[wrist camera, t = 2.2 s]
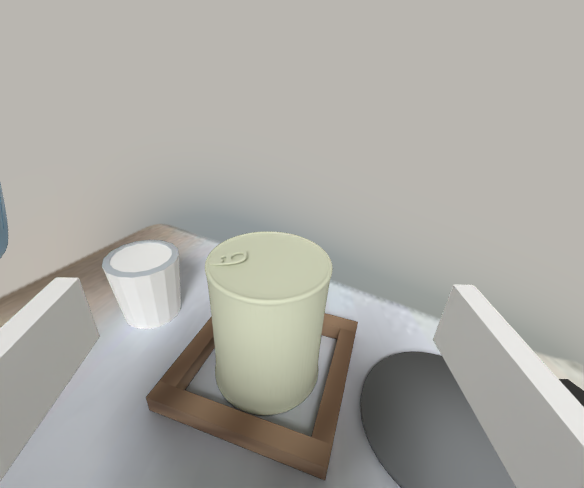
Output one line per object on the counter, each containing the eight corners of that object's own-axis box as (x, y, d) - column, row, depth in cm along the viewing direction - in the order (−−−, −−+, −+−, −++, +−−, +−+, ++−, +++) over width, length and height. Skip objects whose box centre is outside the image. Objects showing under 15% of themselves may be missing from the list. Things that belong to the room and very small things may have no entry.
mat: (348, 481, 21) (349, 476, 20) (369, 340, 31) (370, 336, 31) (577, 571, 17) (583, 567, 17) (513, 380, 28) (516, 376, 28)
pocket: (149, 410, 24) (145, 397, 23) (234, 300, 36) (233, 289, 35) (325, 480, 21) (327, 468, 20) (355, 333, 32) (357, 322, 31)
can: (218, 332, 31) (209, 226, 25) (307, 326, 33) (318, 224, 27) (211, 422, 24) (195, 300, 18) (329, 409, 25) (351, 292, 19)
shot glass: (128, 292, 36) (114, 239, 32) (189, 288, 37) (182, 237, 34) (109, 337, 30) (89, 279, 27) (183, 330, 31) (173, 274, 28)
